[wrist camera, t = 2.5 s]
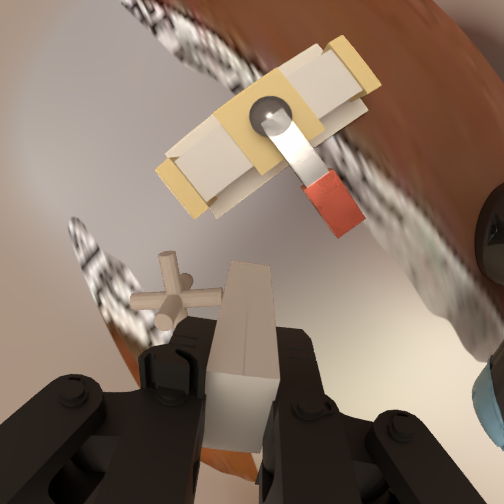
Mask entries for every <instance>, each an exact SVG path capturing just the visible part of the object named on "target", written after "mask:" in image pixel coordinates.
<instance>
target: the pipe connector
mask: <svg viewBox="0 0 504 504" xmlns="http://www.w3.org/2000/svg"><path fill="white" fill-rule="evenodd" d="M158 257H159V262H160V267H161V271H162V277H163V281H164V286H165V291H166V292H149V293H133V294H131V296H130V305H131V308H132V309H133V310H146V309H159V311H158V313H157V315H156V316H155V318H154V324H155V326H156V327H157V328H158V329H160V330H162V331H168V330H170V329H171V328H172V326H173V325H174V329H175V328H176V325H177V323H179V322H180V321H181V320H183V319H184V318H186V317H187V316H188V313H187V309H186V308H188V307H205V306H221V302H222V298H223V289H222V288H211V289H197V290H190V288H191V286H192V284H193V278H192V276H191V275H190V274H187V273H183V274H181V275H179V269H178V263H177V258H176V253H175V251H165V252H162V253H160V254H159V255H158Z"/></svg>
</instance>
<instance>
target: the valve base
mask: <svg viewBox="0 0 504 504" xmlns="http://www.w3.org/2000/svg"><path fill="white" fill-rule="evenodd" d="M380 86H381V83H380V82H379V81H378V79H377V78H376V76H375V75H374V74H373V72H372V71H371V70H370V68H369V67H368V66H367V64H366V63H365V62H364V60H363V59H362V58H361V57H360V55H359V54H358V53H357V52H356V50H355V49H354V48H353V47H352V45H351V44H350V43H349V42H348V41H347V39H346V38H345V37H344V36H343V35H342V36H340V37H338V38H336V39H334V40H333V41H331V42H329V43H328V44H327V46H326V47H325V49H324V50H322V49H321V48H320V47H319V45H318V44H315V45H313V46H312V47H310V48H308V49H307V50H305V51H304V52H302V53H300V54H299V55H297V56H295V57H294V58H292V59H291V60H289V61H288V62H286V63H284V64H283V65H281V66H280V67H278V68H275V69H274V70H272V71H271V72H269V73H268V74H266V75H265V76H263V77H262V78H260V79H259V80H257V81H256V82H254V83H253V84H252V85H250V86H249V87H247V88H246V89H245V90H243V91H242V92H240V93H239V94H238V95H236V96H235V97H234V98H232V99H231V100H229V101H228V102H227V103H225V104H224V105H223V106H222V107H220V108H219V109H218V110H216V111H215V112H214V113H213V114H212V115H211V116H210V117H209V118H207V119H206V120H205V121H204V122H203V123H201V124H200V125H199V126H197V127H196V128H195V129H194V130H192V131H191V132H190V133H189V134H188V135H186V136H185V137H184V138H183V139H181V140H180V141H179V142H178V143H177V144H176V145H174V146H173V147H172V148H171V149H170V150H169V151H167V152H166V153H165V155H166V156H167V157H168V159H166V160H165V161H164V162H163V163H162V164H161V165H160V166H158V167H157V168H156V169H155V171H156V172H157V174H158V175H159V177H160V178H161V180H162V181H163V182H164V183H165V185H166V186H167V187H168V188H169V190H170V191H171V192H172V193H173V195H174V196H175V197H176V198H177V199H178V201H179V202H180V203H181V204H182V206H183V207H184V208H185V209H186V211H187V212H188V213H189V214H190V215H191V216H192V217H193V218H194V219H196V218H197V217H198V216H200V215H201V214H202V213H203V212H205V211H206V210H207V209H209V210H210V211H211V212H212V214H213V215H214V216H215V217H216V219H218V218H220V217H221V216H222V215H223V214H225V213H226V212H228V211H229V210H230V209H231V208H233V207H234V206H235V205H237V204H238V203H239V202H240V201H242V200H243V199H245V198H246V197H247V196H249V195H250V194H251V193H253V192H254V191H255V190H256V189H258V188H259V187H261V186H262V185H263V184H265V183H266V182H267V181H269V180H270V179H271V178H273V177H274V176H276V175H277V174H278V173H279V172H281V171H282V170H284V169H285V168H286V167H288V166H289V164H288V163H287V162H286V160H285V159H284V158H283V156H282V155H281V154H280V152H279V151H278V150H277V148H276V147H275V146H274V144H273V143H272V142H271V141H270V139H269V138H266V137H263V136H260V135H259V134H257V133H256V132H255V131H254V130H253V128H252V126H251V123H250V120H249V112H250V109H251V107H252V105H253V104H254V103H255V101H257V100H258V99H260V98H262V97H265V96H276V97H279V98H281V99H283V100H284V101H285V102H286V103H287V104H288V105H289V106H290V108H291V111H292V121H293V122H294V124H295V125H296V126H297V128H298V129H299V130H300V132H301V133H302V134H303V136H304V137H305V138H306V140H307V141H308V142H309V144H310V145H311V146H312V148H314V147H316V146H317V145H319V144H320V143H322V142H323V141H324V140H326V139H327V138H329V137H330V136H332V135H333V134H334V133H336V132H337V131H339V130H340V129H342V128H343V127H345V126H346V125H348V124H349V123H350V122H352V121H353V120H355V119H356V118H358V117H359V116H361V115H362V114H364V113H365V112H367V111H368V109H367V107H366V106H365V105H364V103H363V102H362V100H361V99H360V98H361V97H363V96H365V95H367V94H369V93H370V92H372V91H373V90H375V89H376V88H378V87H380Z"/></svg>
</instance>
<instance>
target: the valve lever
mask: <svg viewBox="0 0 504 504" xmlns="http://www.w3.org/2000/svg"><path fill="white" fill-rule="evenodd" d="M249 120H250V123H251V126H252V128H253V130H254V131H255V132H256V133H257V134H259V135H260V136H263V137H266V138H269V139H270V141H271V142H272V143H273V144H274V146H275V147H276V148H277V150H278V151H279V152H280V154H281V155H282V156H283V158H284V159H285V160H286V162H287V163H288V164H289V166H290V167H291V168H292V169H293V171H294V172H295V174H296V175H297V176H298V178H299V179H300V180H301V182H302V183H303V185H302V186H301V189H302V190H303V191H304V192H305V194H306V195H307V197H308V198H309V200H310V201H311V202H312V204H313V205H314V207H315V208H316V210H317V211H318V212H319V214H320V215H321V217H322V218H323V219H324V221H325V222H326V224H327V225H328V227H329V228H330V230H331V231H332V232H333V233H334V235H335V236H336V237H337V238H339V237H341V236H342V235H343V234H345V233H346V232H348V231H349V230H351V229H352V228H353V227H355V226H356V225H358V224H359V223H360V222H362V221H363V220H364V219H366V218H365V217H364V215H363V214H362V212H361V210H360V209H359V207H358V206H357V204H356V203H355V201H354V199H353V198H352V196H351V195H350V193H349V192H348V190H347V189H346V187H345V186H344V184H343V183H342V181H341V180H340V178H339V177H338V175H337V174H336V172H335V171H334V170H333V169H330V168H327V167H326V166H325V164H324V163H323V162H322V160H321V159H320V157H319V156H318V155H317V153H316V152H315V151H314V149H313V148H312V146H311V145H310V144H309V142H308V141H307V140H306V138H305V137H304V136H303V134H302V133H301V132H300V130H299V129H298V128H297V126H296V125H295V124H294V122H293V121H292V111H291V108H290V106H289V105H288V104H287V103H286V102H285V101H284V100H283V99H281V98H279V97H276V96H265V97H262V98H260V99H258V100H257V101H255V103H254V104H253V105H252V107H251V109H250V112H249Z"/></svg>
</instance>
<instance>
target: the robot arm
mask: <svg viewBox="0 0 504 504" xmlns="http://www.w3.org/2000/svg"><path fill="white" fill-rule="evenodd" d="M475 251H476V258H477V262H478V265H479V267H480V269H481V271H482V272H483V274H484V275H485V276H486V277H487V278H489V279H490V280H492V281H493V282H494V283H496V284H498V285H500V286H504V183H503V184H501V185H500V186H499V187H497V188H496V189H495V190H494V191H493V192H492V193H491V195H490V196H489V198H488V199H487V201H486V202H485V204H484V206H483V209H482V211H481V214H480V217H479V220H478V224H477V229H476V236H475ZM138 362H139V373H140V383H141V389H139V390H135V391H131V392H103V391H102V389H101V387H100V385H99V383H97V382H96V381H95V380H93V379H92V378H90V377H87V376H84V375H79V374H69V375H64V376H60V377H59V378H57V379H55V380H53V381H52V382H51V383H49V384H48V385H47V386H46V387H44V388H43V389H42V390H41V391H40V392H38V393H37V394H36V395H35V396H34V397H32V398H31V399H30V400H29V401H28V402H27V403H25V404H24V405H23V406H22V407H21V408H19V409H18V410H17V411H16V412H15V413H13V414H12V415H11V416H10V417H9V418H8V419H7V420H5V421H4V422H3V423H2V424H1V425H0V504H194V499H195V492H196V486H197V480H198V474H199V467H200V453H201V448H202V447H206V448H213V449H220V450H228V451H237V452H248V453H260V452H261V449H262V445H263V459H262V463H261V466H260V469H259V472H258V475H257V478H256V482H255V484H258V485H259V504H487V503H486V502H485V501H484V499H483V498H482V497H481V496H480V494H479V493H478V492H477V490H476V489H475V488H474V487H473V485H472V484H471V483H470V481H469V480H468V479H467V477H466V476H465V475H464V474H463V472H462V471H461V470H460V468H459V467H458V466H457V465H456V463H455V462H454V461H453V460H452V458H451V457H450V456H449V455H448V453H447V452H446V451H445V450H444V448H443V447H442V446H441V444H440V443H439V442H438V441H437V439H436V438H435V437H434V436H433V434H432V433H431V432H430V431H429V429H428V428H427V427H426V426H425V424H424V423H423V422H422V421H420V419H418V418H417V417H416V416H415V415H413V414H410V413H408V412H407V411H401V410H387V411H385V412H383V413H381V414H379V415H378V417H377V418H376V420H375V421H374V422H371V421H366V420H362V419H358V418H353V417H350V416H347V415H344V414H343V413H341V412H339V409H338V407H337V405H336V403H335V402H334V401H333V400H332V399H331V398H330V397H328V396H327V395H325V393H324V389H323V385H322V381H321V377H320V373H319V369H318V365H317V361H316V357H315V353H314V349H313V345H312V341H311V338H310V337H309V336H308V335H307V334H306V333H305V332H304V331H303V330H302V329H294V328H285V327H276V325H275V314H274V303H273V292H272V283H271V271H270V266H269V265H263V264H255V263H247V262H240V261H232V260H231V264H230V268H229V273H228V277H227V281H226V285H225V289H224V293H223V298H222V302H221V307H220V311H219V316H218V320H211V319H203V318H197V317H190V316H187V317H186V318H184V319H183V320H181V321H180V322H179V323H177V325H176V328H175V330H174V332H173V336H172V337H171V339H170V342H169V344H163V345H158V346H153V347H151V348H149V349H147V350H145V351H144V352H143V353H142V354H141V355H140V356H139V357H138ZM472 400H473V406H474V409H475V412H476V415H477V417H478V419H479V421H480V423H481V425H482V427H483V428H484V430H485V432H486V433H487V434H488V436H489V437H490V439H491V440H492V441H493V442H494V443H495V444H496V445H497V446H498V447H501V449H502V450H503V451H504V340H503V342H502V343H501V345H500V346H499V348H498V349H497V351H496V352H495V353H494V355H491V357H490V358H489V359H488V363H487V365H486V366H485V368H484V369H483V371H482V372H481V373H480V375H479V376H478V378H477V379H476V381H475V383H474V385H473V389H472Z"/></svg>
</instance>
